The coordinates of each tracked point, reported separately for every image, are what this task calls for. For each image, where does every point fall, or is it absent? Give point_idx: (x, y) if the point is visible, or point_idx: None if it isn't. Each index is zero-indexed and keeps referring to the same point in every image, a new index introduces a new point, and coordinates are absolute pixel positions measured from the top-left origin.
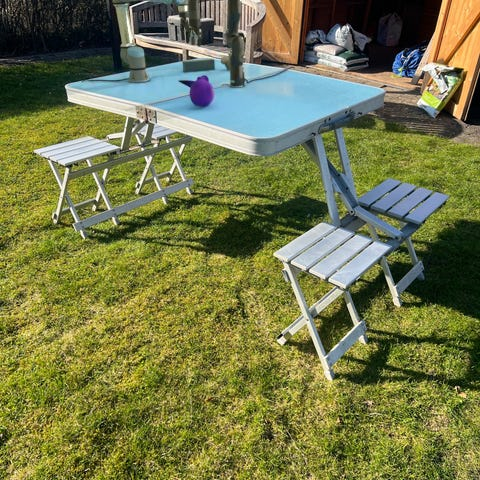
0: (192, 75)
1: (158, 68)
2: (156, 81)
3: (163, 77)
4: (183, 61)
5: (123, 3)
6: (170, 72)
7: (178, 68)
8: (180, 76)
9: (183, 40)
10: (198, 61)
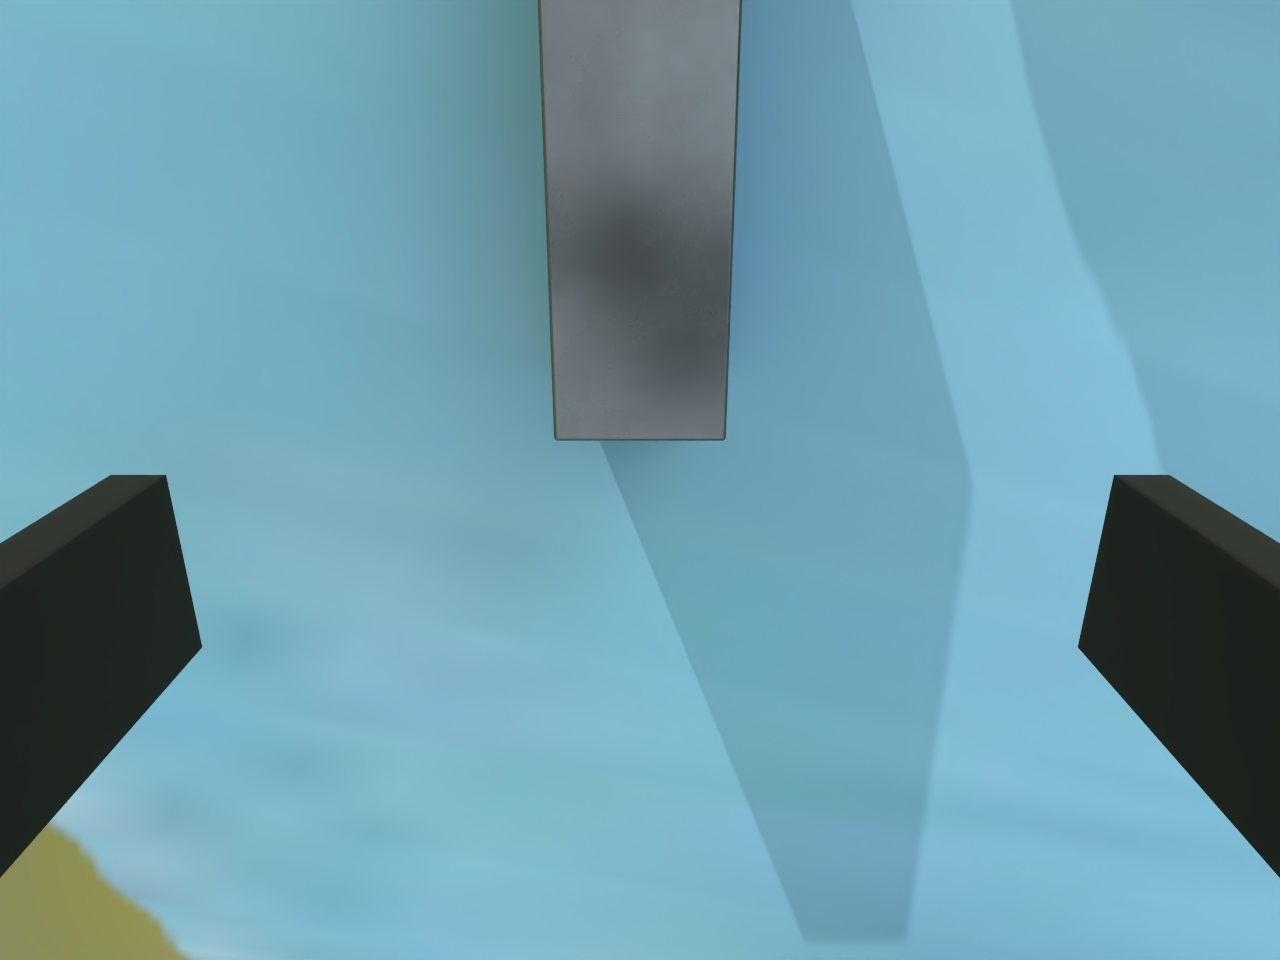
0: (1093, 335)
1: None
2: (1176, 927)
3: (949, 797)
4: (618, 431)
5: None
6: (565, 611)
7: (178, 371)
8: (1040, 556)
9: (182, 563)
10: (739, 14)
